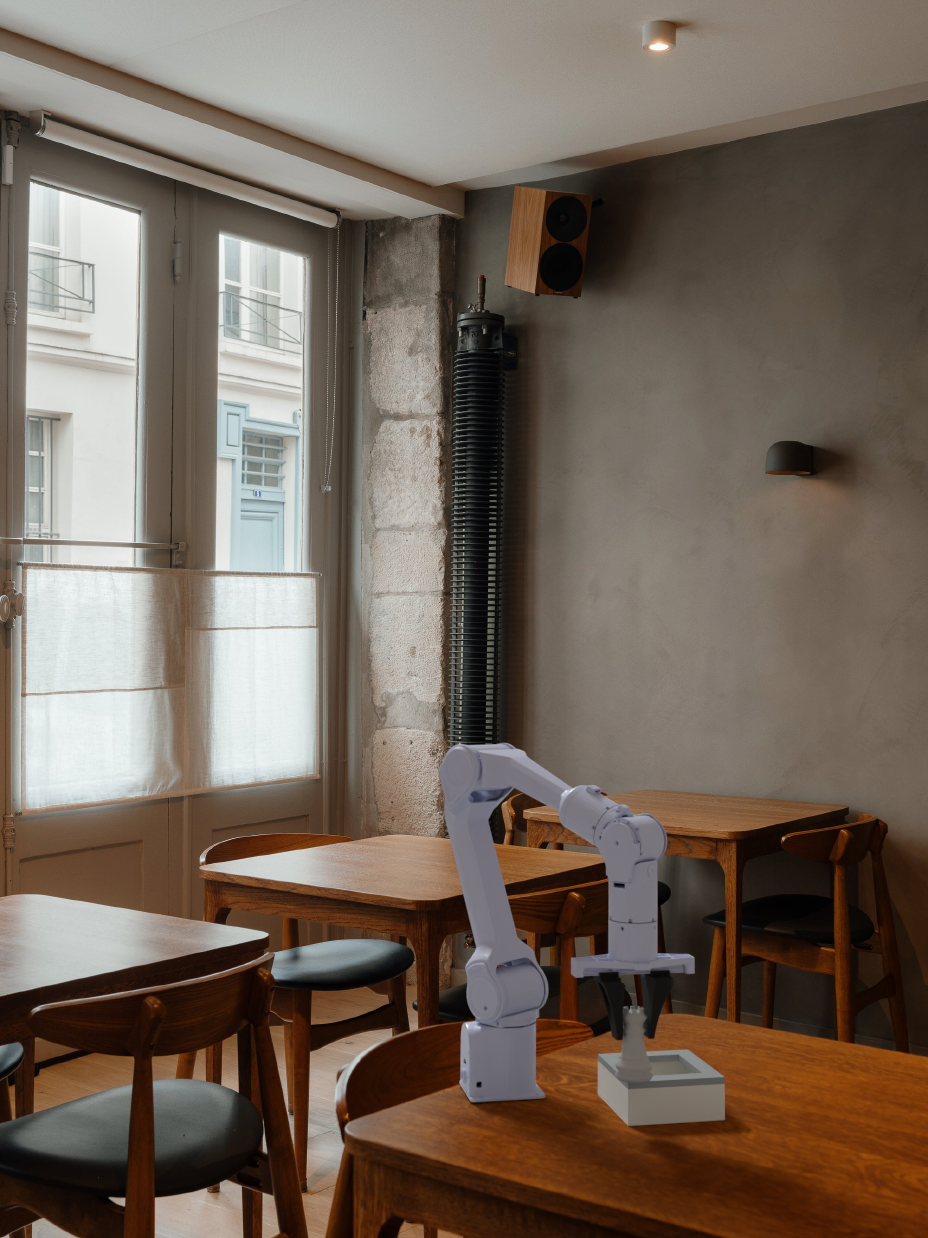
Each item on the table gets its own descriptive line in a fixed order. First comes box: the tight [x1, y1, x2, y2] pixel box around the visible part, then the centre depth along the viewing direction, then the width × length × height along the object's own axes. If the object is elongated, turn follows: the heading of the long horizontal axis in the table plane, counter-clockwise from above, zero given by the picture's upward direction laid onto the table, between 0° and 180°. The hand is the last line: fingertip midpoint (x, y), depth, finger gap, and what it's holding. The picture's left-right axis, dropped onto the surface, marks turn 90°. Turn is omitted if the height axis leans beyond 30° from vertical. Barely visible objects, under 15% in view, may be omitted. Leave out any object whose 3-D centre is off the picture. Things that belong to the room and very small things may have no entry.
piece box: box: [597, 1048, 726, 1127], centre depth 155 cm, size 12×12×5 cm
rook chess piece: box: [615, 1005, 653, 1083], centre depth 147 cm, size 4×4×8 cm
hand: (633, 1037), depth 148 cm, fingers closed on rook chess piece, 3 cm apart
